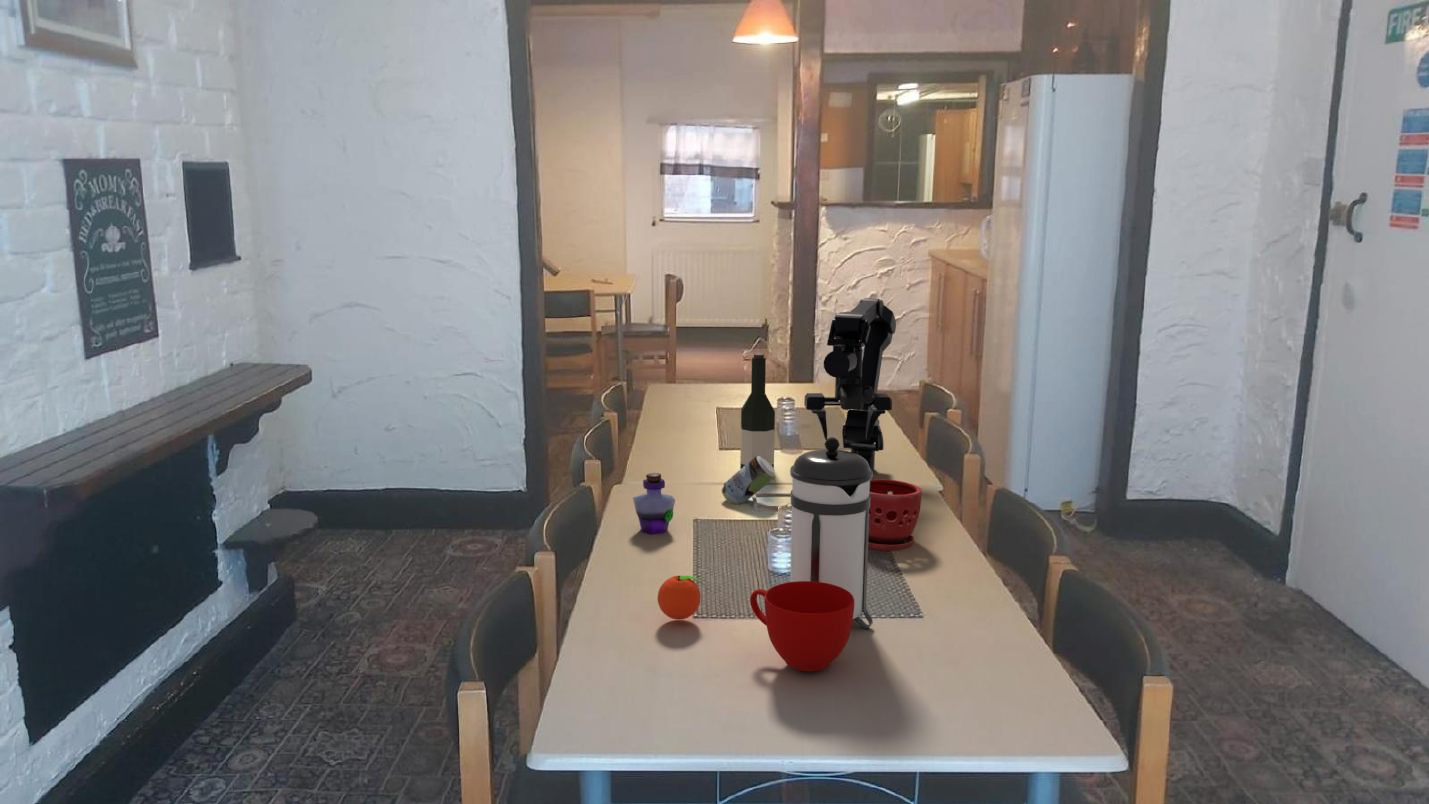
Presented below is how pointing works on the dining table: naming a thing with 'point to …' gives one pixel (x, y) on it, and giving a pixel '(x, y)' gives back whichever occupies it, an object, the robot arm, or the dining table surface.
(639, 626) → the dining table surface
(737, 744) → the dining table surface
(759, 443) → the wine bottle
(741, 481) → the beverage can
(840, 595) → the ceramic cup
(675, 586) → the clementine
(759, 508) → the board
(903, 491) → the plant pot
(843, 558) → the coffee press
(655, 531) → the potion bottle
